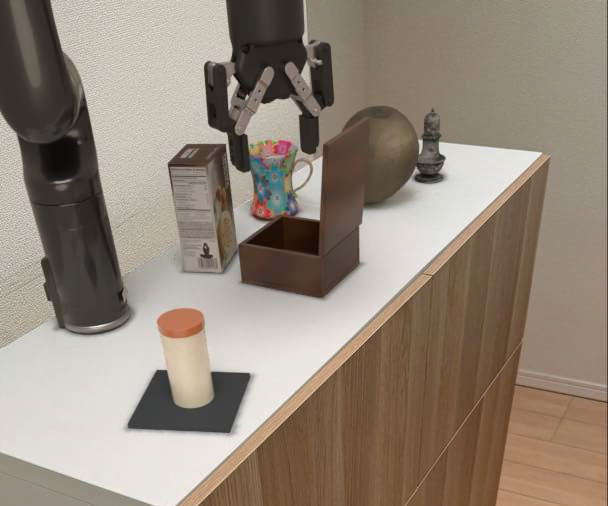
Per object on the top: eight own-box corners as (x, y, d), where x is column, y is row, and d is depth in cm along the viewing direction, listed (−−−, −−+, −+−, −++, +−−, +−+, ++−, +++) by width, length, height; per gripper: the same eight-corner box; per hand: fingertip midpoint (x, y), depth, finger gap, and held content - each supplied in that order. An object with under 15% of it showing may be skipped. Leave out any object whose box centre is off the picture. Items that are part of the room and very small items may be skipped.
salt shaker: (408, 175, 146) (410, 105, 138) (436, 171, 147) (441, 101, 139) (420, 185, 142) (424, 113, 134) (449, 180, 143) (455, 109, 135)
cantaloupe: (340, 219, 132) (339, 123, 122) (332, 190, 142) (330, 100, 132) (422, 212, 132) (428, 116, 122) (408, 185, 143) (412, 94, 133)
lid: (322, 143, 96) (328, 145, 96) (365, 116, 104) (370, 117, 104) (318, 255, 106) (323, 256, 106) (357, 222, 114) (362, 223, 114)
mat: (128, 428, 89) (127, 423, 89) (157, 373, 98) (156, 369, 97) (229, 432, 87) (229, 428, 87) (250, 376, 96) (249, 372, 95)
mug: (240, 221, 134) (234, 155, 126) (259, 201, 140) (254, 138, 133) (306, 226, 131) (303, 159, 123) (322, 206, 137) (320, 141, 130)
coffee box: (201, 248, 126) (186, 142, 115) (238, 249, 125) (227, 142, 114) (183, 272, 119) (166, 162, 108) (223, 274, 118) (209, 162, 107)
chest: (241, 282, 116) (237, 244, 112) (282, 250, 124) (280, 213, 120) (322, 298, 111) (320, 258, 107) (359, 264, 119) (359, 226, 115)
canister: (166, 408, 90) (151, 329, 84) (178, 384, 94) (164, 307, 87) (209, 409, 90) (197, 330, 83) (219, 385, 94) (208, 308, 87)
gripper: (303, -32, 79) (310, 140, 90) (179, -13, 73) (203, 168, 84) (346, -26, 74) (348, 155, 85) (217, -5, 68) (237, 186, 80)
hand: (276, 161), depth 85 cm, fingers open, 8 cm apart
